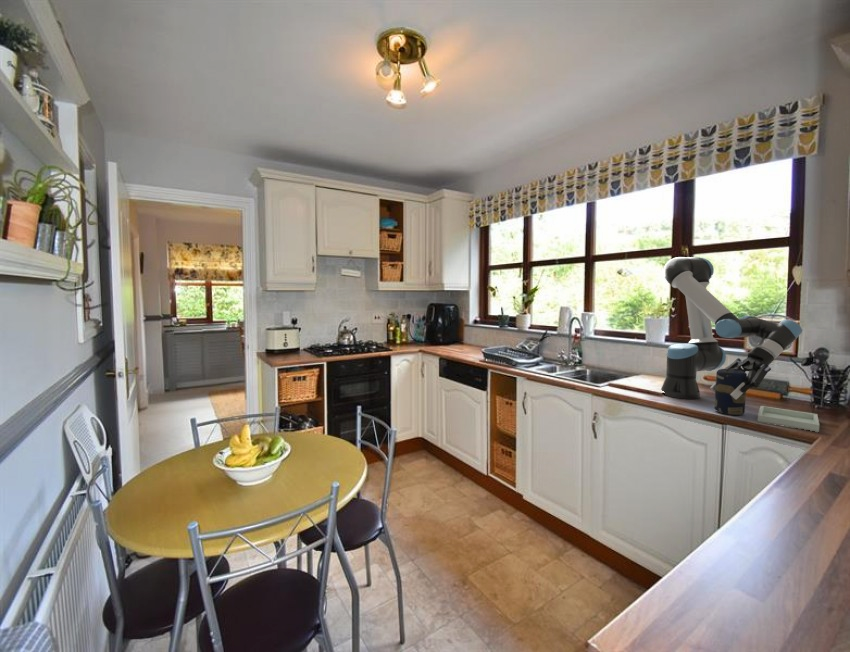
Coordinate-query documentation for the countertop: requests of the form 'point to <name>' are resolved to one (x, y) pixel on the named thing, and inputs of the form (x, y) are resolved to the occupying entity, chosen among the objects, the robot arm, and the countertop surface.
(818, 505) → the countertop surface
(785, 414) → the tray
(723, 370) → the canister
